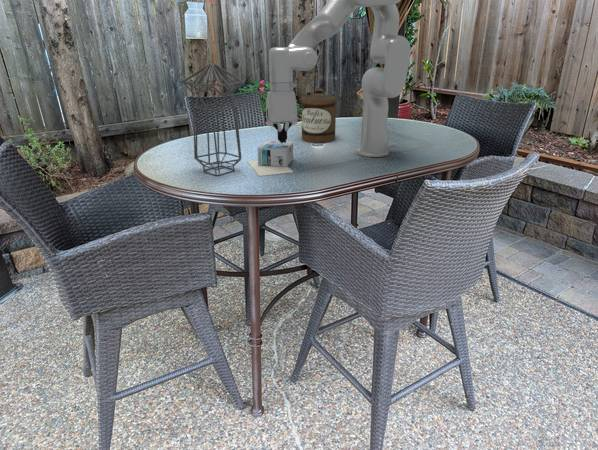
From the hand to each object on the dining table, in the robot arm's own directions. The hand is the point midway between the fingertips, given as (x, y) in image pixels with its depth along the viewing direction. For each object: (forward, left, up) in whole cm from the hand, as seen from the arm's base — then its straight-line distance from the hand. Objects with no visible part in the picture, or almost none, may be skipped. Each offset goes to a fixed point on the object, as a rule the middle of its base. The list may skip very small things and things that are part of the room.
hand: (282, 141), depth 150 cm
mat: (+5, 0, -9) cm, 10 cm away
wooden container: (-27, -34, -9) cm, 44 cm away
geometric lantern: (+22, -2, -9) cm, 24 cm away
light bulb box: (-4, -1, -5) cm, 6 cm away
